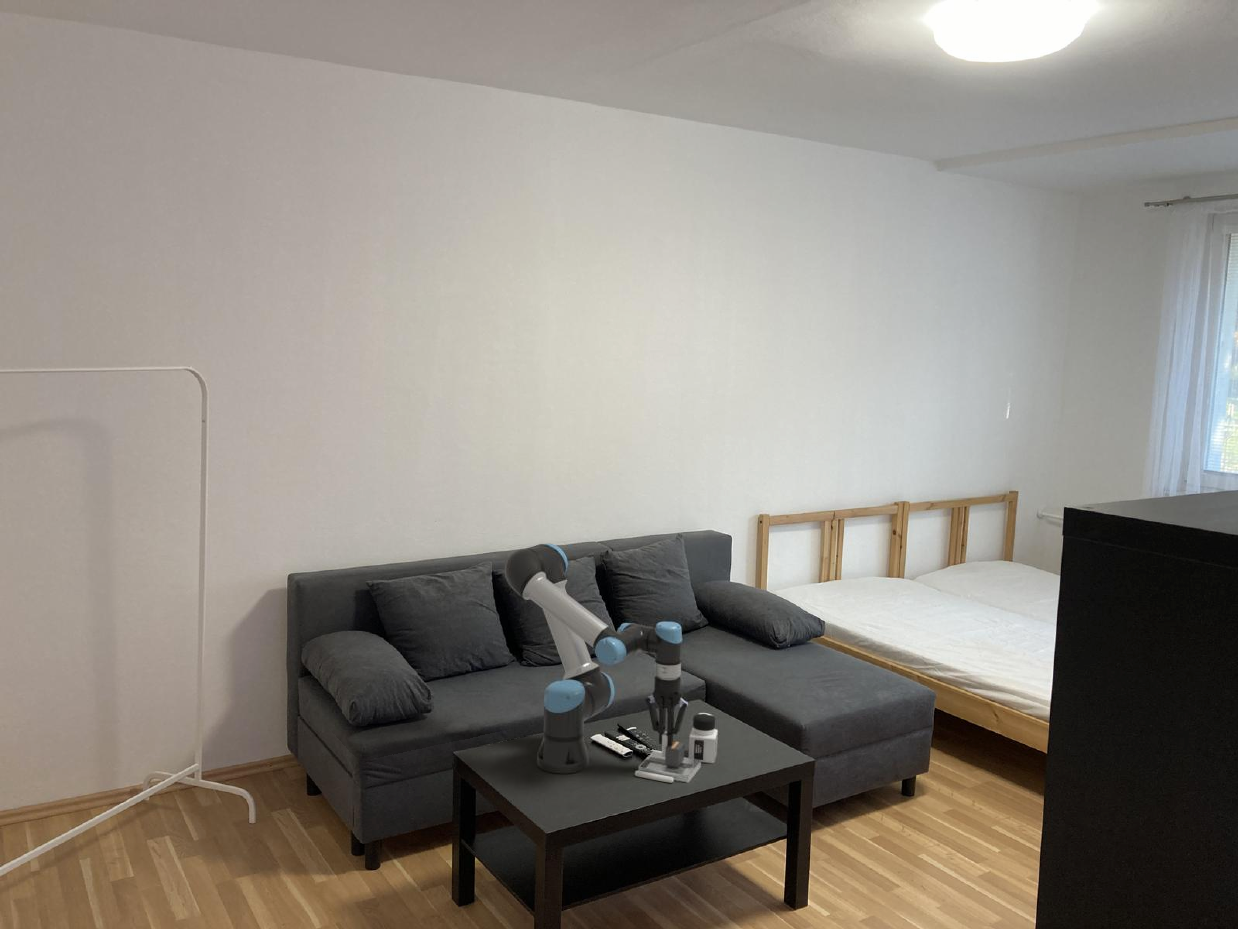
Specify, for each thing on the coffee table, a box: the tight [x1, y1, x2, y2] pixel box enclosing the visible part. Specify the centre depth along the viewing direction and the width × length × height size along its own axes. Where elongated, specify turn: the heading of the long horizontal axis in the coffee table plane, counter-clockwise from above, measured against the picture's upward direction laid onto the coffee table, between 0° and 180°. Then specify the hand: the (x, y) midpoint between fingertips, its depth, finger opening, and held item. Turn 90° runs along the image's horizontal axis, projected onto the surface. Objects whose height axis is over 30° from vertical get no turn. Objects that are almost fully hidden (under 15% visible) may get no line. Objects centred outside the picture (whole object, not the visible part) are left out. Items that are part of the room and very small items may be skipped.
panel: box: [638, 752, 702, 783], centre depth 289 cm, size 15×12×2 cm
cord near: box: [634, 770, 675, 784], centre depth 282 cm, size 12×2×2 cm, turn 68°
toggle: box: [665, 741, 685, 766], centre depth 288 cm, size 4×5×5 cm
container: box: [688, 712, 719, 764], centre depth 298 cm, size 8×8×13 cm
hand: (665, 755), depth 289 cm, fingers closed
